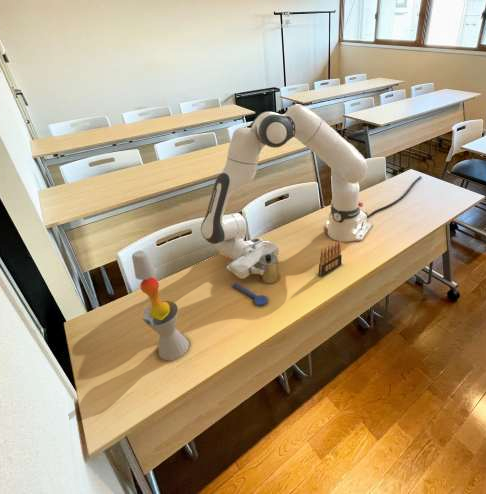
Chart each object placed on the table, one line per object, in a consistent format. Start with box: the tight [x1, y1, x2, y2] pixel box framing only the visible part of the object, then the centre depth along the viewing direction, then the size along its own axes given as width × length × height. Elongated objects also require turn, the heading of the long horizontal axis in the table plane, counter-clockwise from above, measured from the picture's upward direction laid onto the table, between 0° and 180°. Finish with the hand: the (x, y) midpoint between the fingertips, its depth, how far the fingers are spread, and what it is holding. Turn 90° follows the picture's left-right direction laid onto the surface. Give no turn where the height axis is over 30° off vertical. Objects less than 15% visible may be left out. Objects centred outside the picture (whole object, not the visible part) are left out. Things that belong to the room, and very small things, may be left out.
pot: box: [259, 254, 279, 284], centre depth 123 cm, size 7×7×10 cm
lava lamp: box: [131, 250, 190, 361], centre depth 90 cm, size 9×9×35 cm
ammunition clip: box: [318, 239, 343, 277], centre depth 126 cm, size 11×2×12 cm, turn 131°
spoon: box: [232, 282, 268, 307], centre depth 118 cm, size 16×4×1 cm, turn 52°
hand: (270, 267), depth 122 cm, fingers closed on pot, 6 cm apart
